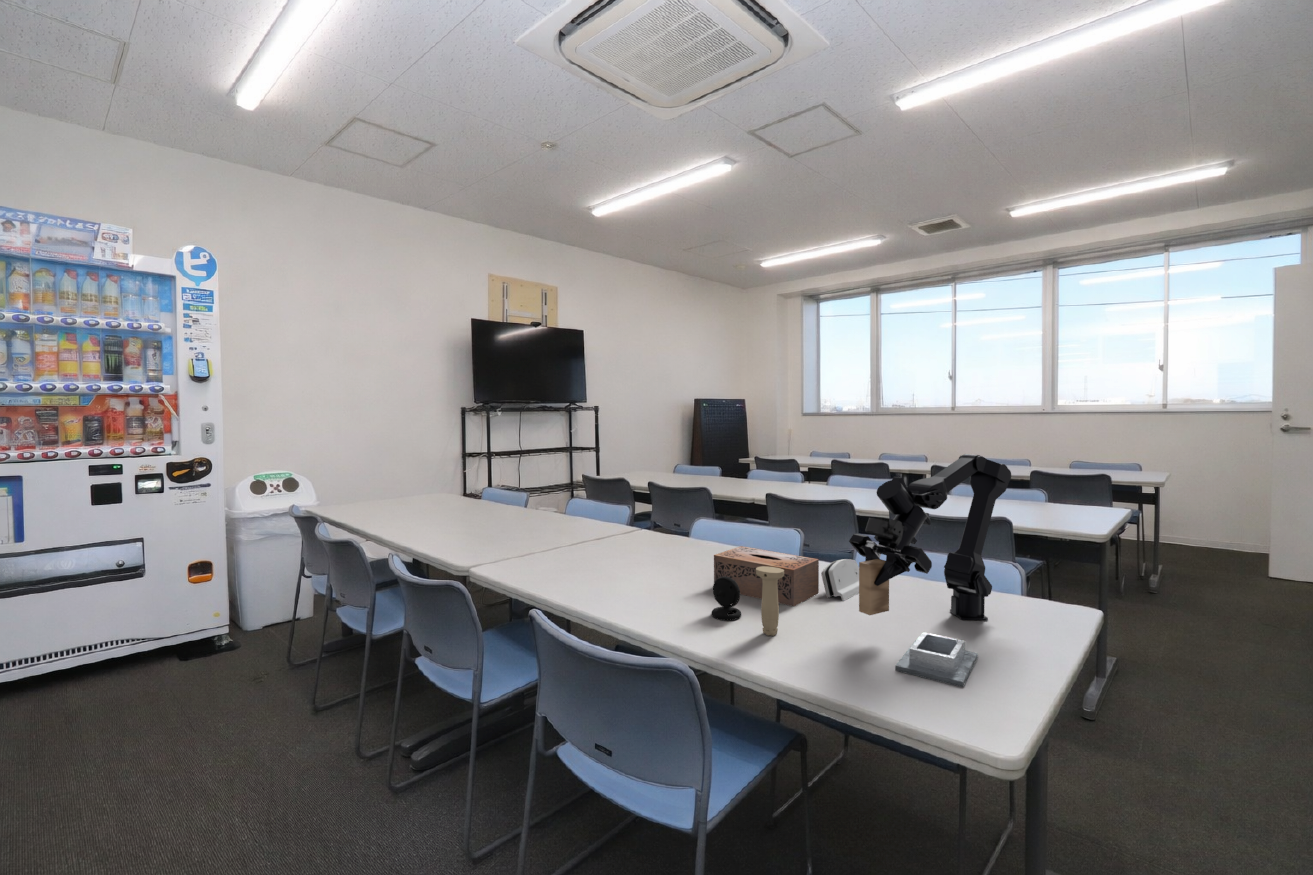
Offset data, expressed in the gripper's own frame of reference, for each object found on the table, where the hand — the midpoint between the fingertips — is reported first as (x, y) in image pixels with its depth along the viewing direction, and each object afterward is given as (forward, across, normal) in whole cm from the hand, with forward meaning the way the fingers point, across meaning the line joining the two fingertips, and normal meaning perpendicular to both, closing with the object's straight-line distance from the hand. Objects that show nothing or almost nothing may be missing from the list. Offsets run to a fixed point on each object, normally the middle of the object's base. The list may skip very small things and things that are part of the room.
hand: (869, 582), depth 128 cm
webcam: (+22, -30, -3) cm, 37 cm away
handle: (+21, -15, -2) cm, 26 cm away
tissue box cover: (+7, -42, +13) cm, 44 cm away
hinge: (-6, -30, +26) cm, 40 cm away
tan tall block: (+4, 0, +6) cm, 7 cm away
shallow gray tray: (+7, +14, +12) cm, 20 cm away
